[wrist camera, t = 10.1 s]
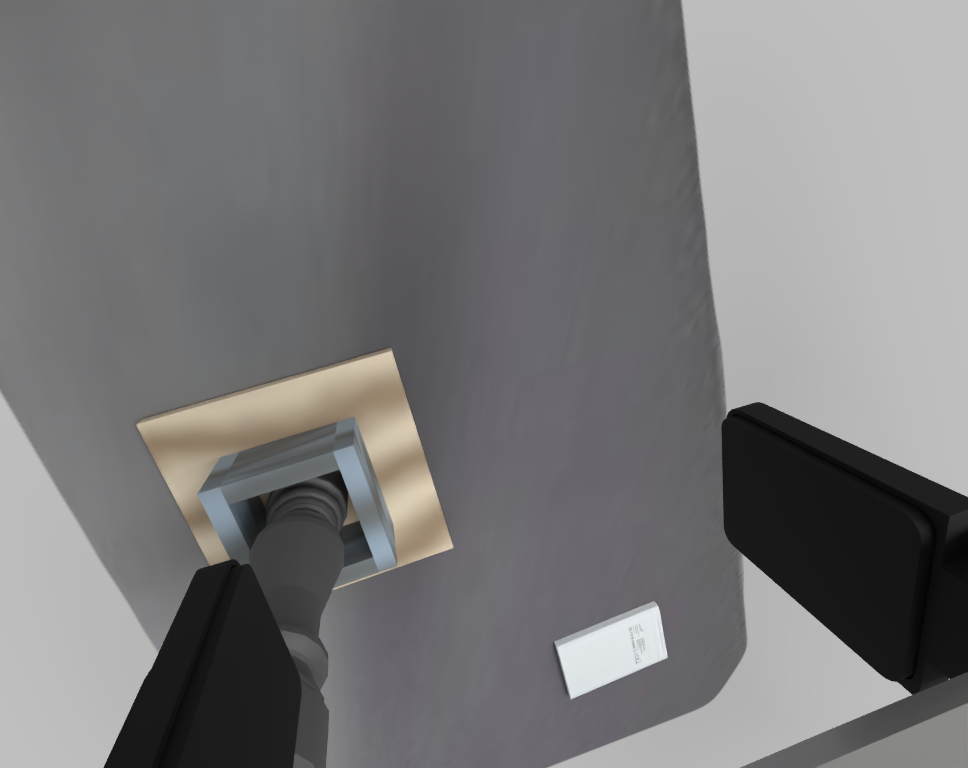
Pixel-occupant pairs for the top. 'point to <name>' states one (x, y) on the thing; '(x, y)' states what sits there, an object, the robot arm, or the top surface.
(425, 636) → the top surface
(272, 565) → the candle holder
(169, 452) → the socket board
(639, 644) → the external hard drive
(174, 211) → the top surface
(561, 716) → the top surface
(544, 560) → the top surface
